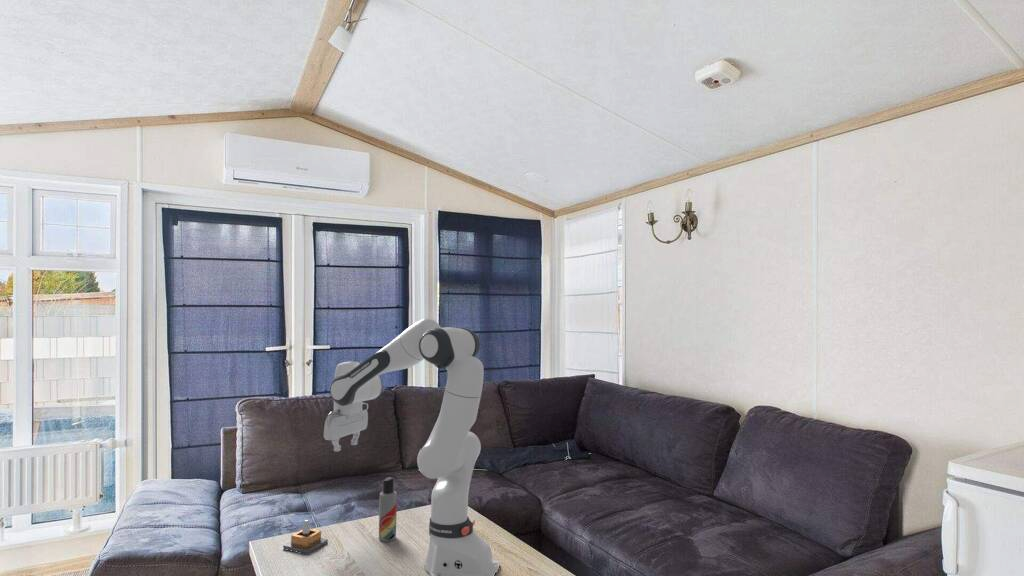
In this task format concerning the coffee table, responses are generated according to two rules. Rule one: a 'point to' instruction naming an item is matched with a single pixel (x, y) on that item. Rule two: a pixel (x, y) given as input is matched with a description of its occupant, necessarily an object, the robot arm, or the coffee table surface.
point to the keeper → (306, 533)
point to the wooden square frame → (306, 538)
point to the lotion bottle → (387, 511)
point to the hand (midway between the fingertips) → (345, 447)
